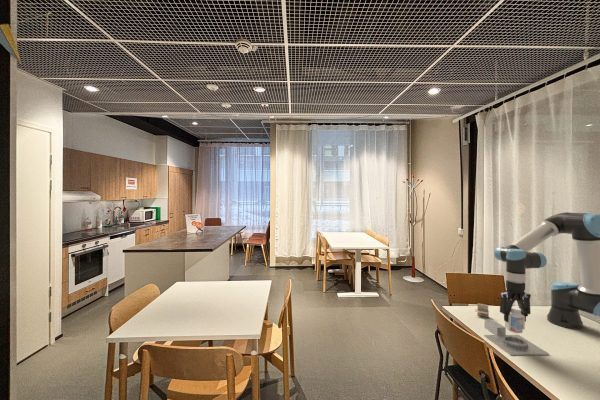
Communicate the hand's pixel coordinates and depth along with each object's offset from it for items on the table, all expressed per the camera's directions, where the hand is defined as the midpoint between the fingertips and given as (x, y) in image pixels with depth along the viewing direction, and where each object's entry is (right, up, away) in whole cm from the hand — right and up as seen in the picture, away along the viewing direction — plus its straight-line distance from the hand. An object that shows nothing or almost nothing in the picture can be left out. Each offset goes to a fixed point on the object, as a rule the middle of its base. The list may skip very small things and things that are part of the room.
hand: (514, 328), depth 138 cm
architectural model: (+6, -9, +34) cm, 36 cm away
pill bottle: (0, -2, 0) cm, 2 cm away
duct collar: (0, -8, +5) cm, 10 cm away
